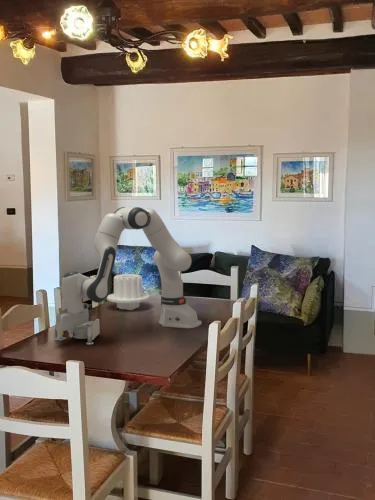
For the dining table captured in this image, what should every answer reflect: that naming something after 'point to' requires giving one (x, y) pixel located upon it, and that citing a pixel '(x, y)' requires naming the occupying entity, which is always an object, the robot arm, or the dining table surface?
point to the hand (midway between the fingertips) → (72, 336)
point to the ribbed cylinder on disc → (128, 291)
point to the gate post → (89, 335)
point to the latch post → (60, 336)
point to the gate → (94, 327)
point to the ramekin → (81, 332)
